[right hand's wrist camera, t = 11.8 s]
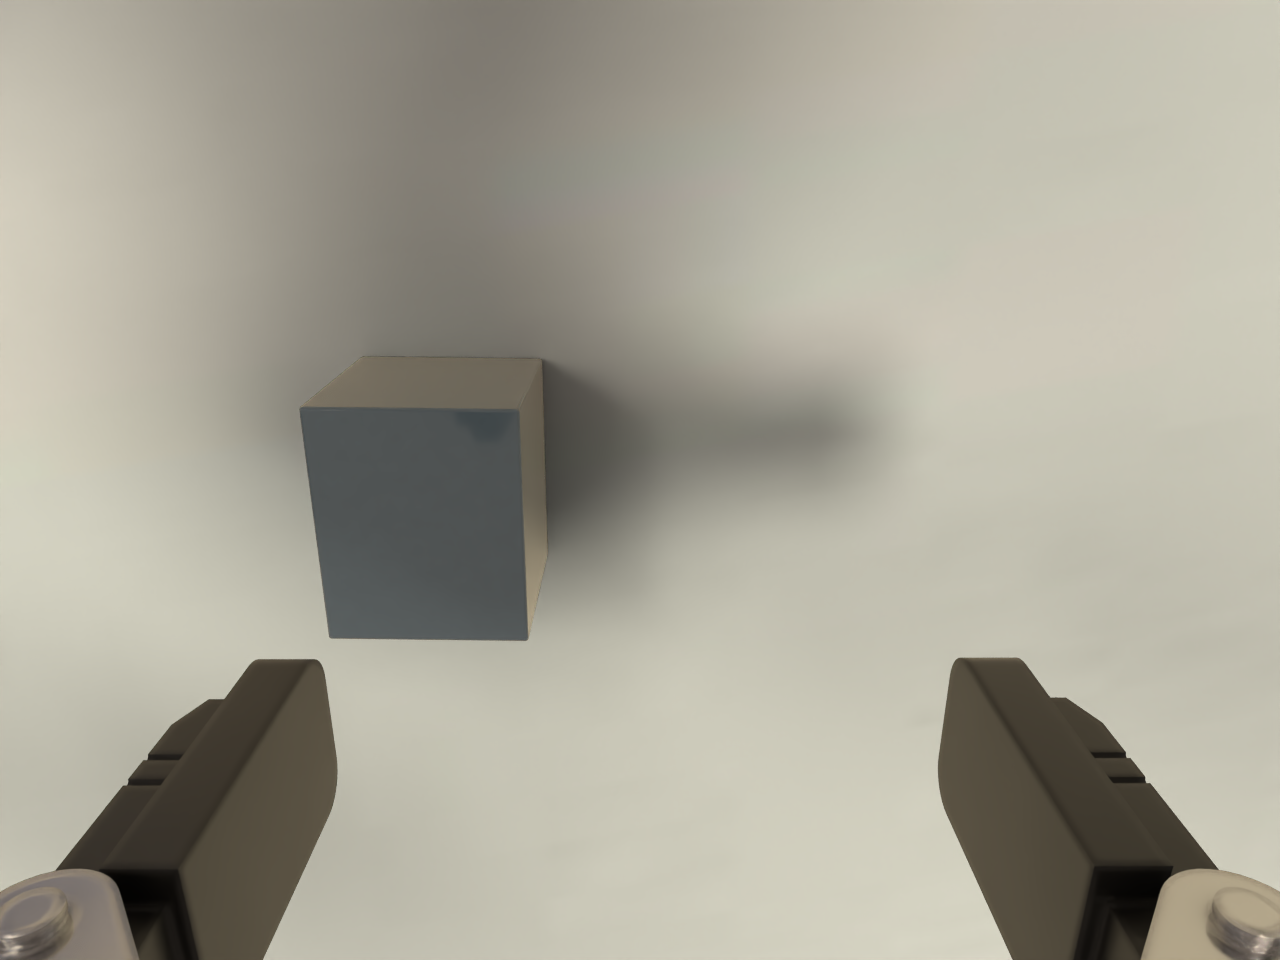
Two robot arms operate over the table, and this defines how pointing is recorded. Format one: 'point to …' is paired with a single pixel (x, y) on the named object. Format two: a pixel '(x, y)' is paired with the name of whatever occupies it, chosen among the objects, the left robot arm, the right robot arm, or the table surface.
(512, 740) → the table surface
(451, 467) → the block
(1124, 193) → the table surface
